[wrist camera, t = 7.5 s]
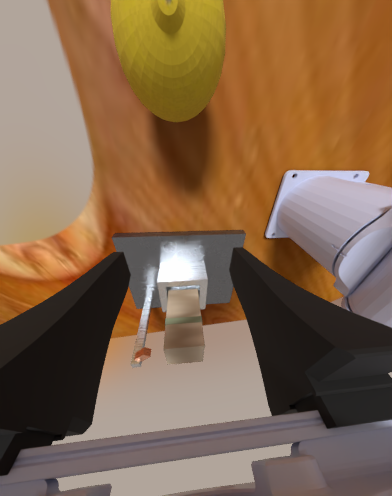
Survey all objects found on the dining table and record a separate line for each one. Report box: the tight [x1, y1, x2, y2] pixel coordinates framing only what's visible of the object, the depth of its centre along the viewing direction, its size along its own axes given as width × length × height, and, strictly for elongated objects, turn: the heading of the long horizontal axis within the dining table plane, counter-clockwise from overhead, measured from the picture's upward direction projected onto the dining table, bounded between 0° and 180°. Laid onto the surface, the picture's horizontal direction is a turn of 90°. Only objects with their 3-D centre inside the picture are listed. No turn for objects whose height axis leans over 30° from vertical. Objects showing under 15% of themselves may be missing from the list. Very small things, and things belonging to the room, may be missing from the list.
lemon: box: [111, 0, 226, 122], centre depth 8 cm, size 6×6×8 cm
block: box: [164, 289, 205, 365], centre depth 16 cm, size 4×4×6 cm
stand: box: [112, 230, 246, 367], centre depth 19 cm, size 16×14×9 cm
